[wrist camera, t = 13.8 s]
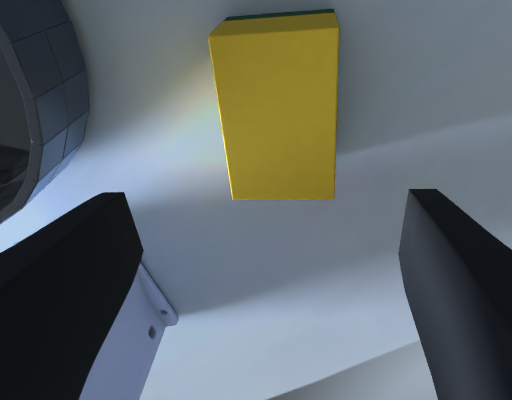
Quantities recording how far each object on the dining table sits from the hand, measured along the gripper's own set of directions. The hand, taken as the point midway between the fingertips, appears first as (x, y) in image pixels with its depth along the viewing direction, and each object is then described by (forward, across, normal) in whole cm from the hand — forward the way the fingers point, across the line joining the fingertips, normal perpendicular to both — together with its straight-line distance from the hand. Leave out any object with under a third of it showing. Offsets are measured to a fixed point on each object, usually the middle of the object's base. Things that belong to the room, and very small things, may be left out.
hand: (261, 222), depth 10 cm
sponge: (+9, 0, 0) cm, 9 cm away
